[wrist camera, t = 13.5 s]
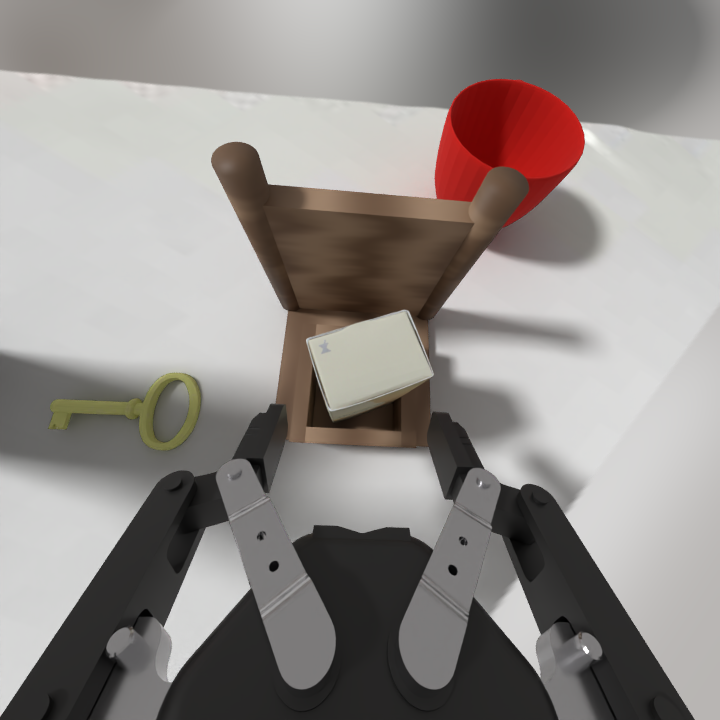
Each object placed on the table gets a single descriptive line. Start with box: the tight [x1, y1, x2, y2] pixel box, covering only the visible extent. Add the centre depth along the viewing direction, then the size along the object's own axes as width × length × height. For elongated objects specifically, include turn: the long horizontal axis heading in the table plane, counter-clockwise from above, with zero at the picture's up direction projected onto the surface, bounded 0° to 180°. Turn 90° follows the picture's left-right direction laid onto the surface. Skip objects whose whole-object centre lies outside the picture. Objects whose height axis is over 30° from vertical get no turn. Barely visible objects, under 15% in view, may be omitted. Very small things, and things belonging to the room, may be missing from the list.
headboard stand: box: [211, 142, 529, 448], centre depth 20 cm, size 17×15×16 cm
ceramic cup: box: [435, 79, 585, 228], centre depth 29 cm, size 13×17×10 cm
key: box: [48, 373, 201, 450], centre depth 24 cm, size 7×12×2 cm, turn 107°
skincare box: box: [306, 310, 434, 423], centre depth 20 cm, size 6×4×12 cm
